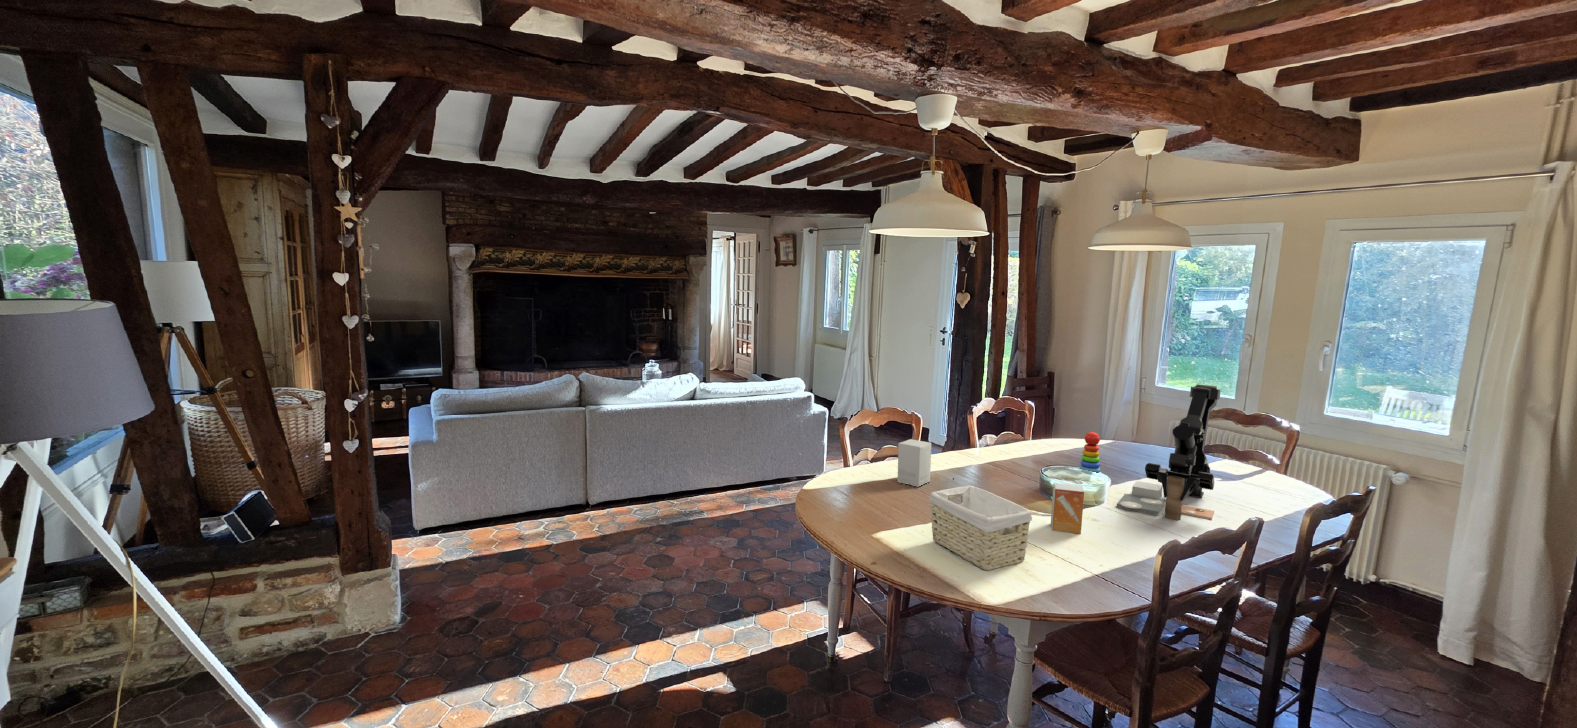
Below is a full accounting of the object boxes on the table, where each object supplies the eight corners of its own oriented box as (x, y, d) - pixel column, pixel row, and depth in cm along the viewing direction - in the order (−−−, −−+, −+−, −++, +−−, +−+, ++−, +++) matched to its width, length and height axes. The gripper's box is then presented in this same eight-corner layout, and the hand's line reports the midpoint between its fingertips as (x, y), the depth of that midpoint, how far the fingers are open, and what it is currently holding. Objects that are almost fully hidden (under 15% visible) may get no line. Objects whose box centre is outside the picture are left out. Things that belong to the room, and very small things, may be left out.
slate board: (1124, 496, 228) (1125, 493, 228) (1164, 504, 221) (1164, 500, 221) (1115, 508, 217) (1115, 504, 217) (1156, 516, 210) (1157, 512, 209)
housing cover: (1136, 491, 234) (1136, 480, 234) (1161, 496, 229) (1162, 485, 229) (1131, 497, 228) (1132, 486, 227) (1157, 502, 223) (1158, 490, 223)
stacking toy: (1103, 485, 240) (1106, 435, 238) (1079, 484, 242) (1083, 434, 240) (1097, 479, 248) (1101, 430, 246) (1074, 478, 250) (1078, 429, 247)
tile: (1178, 505, 220) (1178, 503, 220) (1214, 512, 214) (1214, 510, 214) (1175, 512, 214) (1175, 510, 214) (1211, 519, 208) (1211, 517, 208)
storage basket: (1032, 563, 174) (1035, 509, 172) (985, 575, 167) (988, 519, 165) (969, 532, 196) (971, 483, 194) (925, 541, 188) (927, 491, 186)
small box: (1051, 530, 197) (1054, 488, 195) (1050, 523, 203) (1053, 482, 201) (1081, 534, 195) (1084, 491, 193) (1079, 526, 201) (1082, 484, 199)
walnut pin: (1165, 514, 212) (1169, 474, 210) (1181, 517, 209) (1185, 477, 208) (1163, 518, 208) (1166, 478, 207) (1179, 521, 206) (1183, 480, 204)
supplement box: (930, 482, 242) (932, 442, 240) (918, 488, 235) (920, 447, 233) (909, 477, 248) (910, 438, 246) (896, 482, 241) (897, 442, 239)
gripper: (1148, 438, 215) (1137, 478, 208) (1216, 448, 203) (1206, 491, 196) (1152, 457, 222) (1141, 497, 215) (1218, 468, 210) (1208, 510, 203)
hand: (1173, 498), depth 207 cm, fingers closed on walnut pin, 4 cm apart
